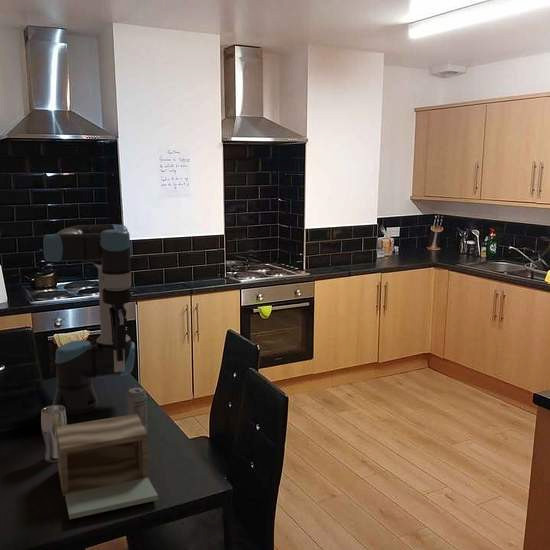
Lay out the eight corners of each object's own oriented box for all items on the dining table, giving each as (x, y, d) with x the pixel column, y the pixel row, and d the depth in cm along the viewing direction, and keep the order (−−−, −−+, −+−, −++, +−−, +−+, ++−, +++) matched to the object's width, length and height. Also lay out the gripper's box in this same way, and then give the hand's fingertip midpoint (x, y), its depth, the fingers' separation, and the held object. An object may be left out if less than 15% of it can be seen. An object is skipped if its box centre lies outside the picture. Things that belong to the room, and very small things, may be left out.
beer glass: (44, 465, 165) (41, 416, 162) (42, 455, 171) (39, 407, 168) (70, 460, 168) (67, 411, 165) (66, 450, 174) (64, 403, 172)
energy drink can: (141, 428, 189) (140, 385, 187) (151, 435, 185) (149, 390, 182) (124, 433, 185) (123, 389, 183) (133, 440, 181) (132, 395, 178)
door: (65, 494, 147) (69, 514, 136) (147, 477, 155) (157, 495, 144) (65, 502, 147) (69, 523, 136) (148, 485, 155) (158, 503, 144)
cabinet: (58, 473, 161) (56, 426, 158) (138, 458, 170) (137, 413, 167) (62, 499, 148) (60, 448, 146) (148, 482, 157) (147, 433, 155)
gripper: (99, 283, 159) (102, 364, 164) (106, 294, 148) (109, 380, 153) (126, 281, 162) (129, 361, 167) (135, 291, 151) (138, 377, 156)
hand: (119, 370), depth 160 cm, fingers closed
